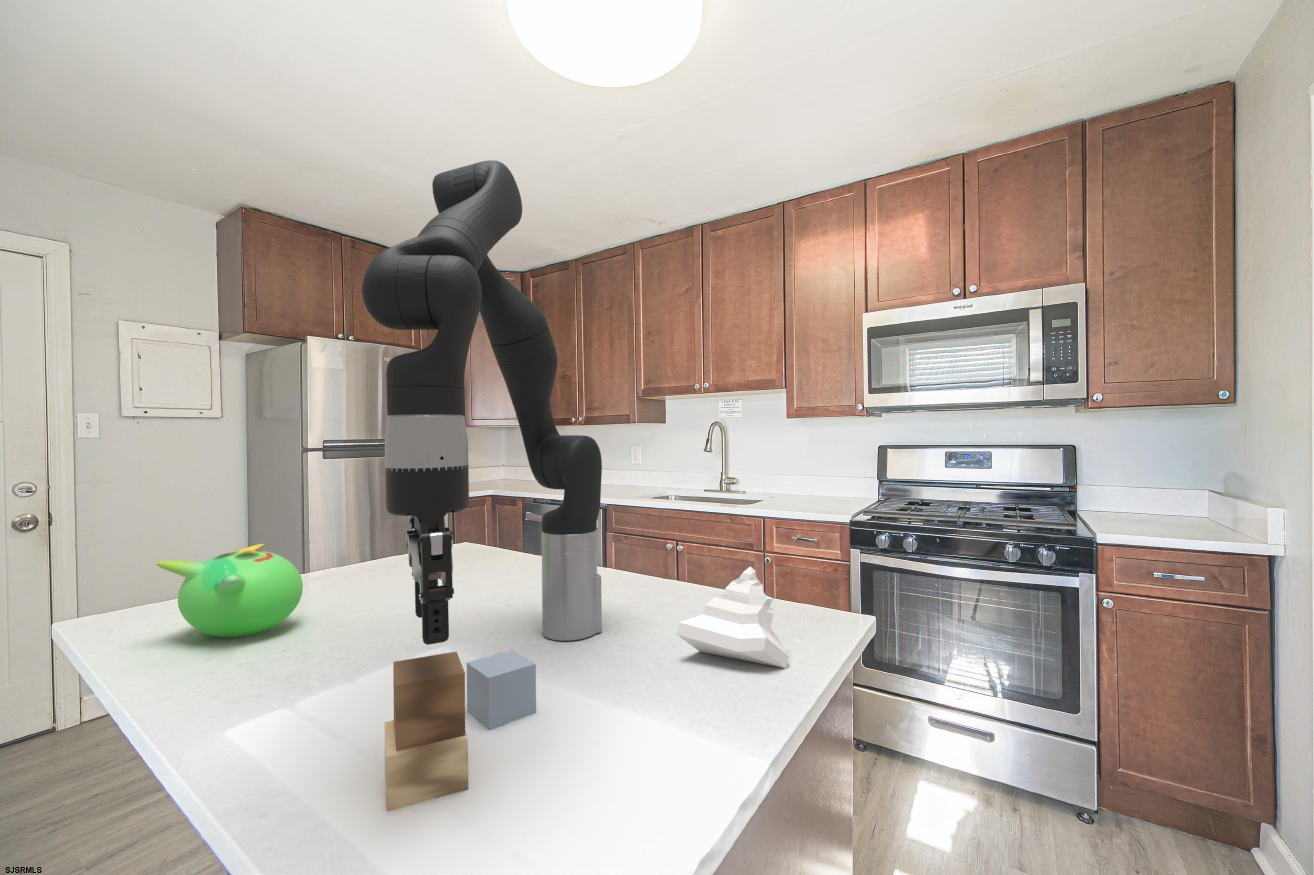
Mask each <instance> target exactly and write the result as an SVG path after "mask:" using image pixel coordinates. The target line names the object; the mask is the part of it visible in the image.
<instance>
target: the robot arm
mask: <svg viewBox="0 0 1314 875" xmlns="http://www.w3.org/2000/svg"><path fill="white" fill-rule="evenodd" d="M432 195H433V199H434V203H435V207H436V210H437V212H438V214H437V215H435V216H434V217H433V218H431V220H429V222H427V224H426V225H424V227H423V228H422V229H421V231H420V232H419V233H418V235H417V236H416V237H413V238H409V239H406V240H404V241H402V242H400V243H398V244H395V245H393V246H391V247H389V248H387V249H385V250H383V251H381V252H380V253H379V254H377V255H376V256H375V257H374V258H373V259H372V260H371V262H370V263H369V265H368V266H367V268H366V270H365V272H364V275H363V278H362V282H361V293H362V294H361V295H362V300H363V304H364V306H365V308H366V311H367V312H368V313H369V315H370V316H371V317H372V319H374V321H376V322H377V323H378V324H380V325H382V326H383V327H385V328H388V329H391V330H397V331H398V330H399V331H436V330H437V333H436V335H435V336H434V338H433V340H432V341H431V343H430V344H429V345H428V346H426V347H424V348H422V349H420V350H419V349H418V350H416V351H415V350H414V351H410V352H407V353H401V354H399V355H396V356H394V357H392V358H390V359H389V361H388V363H387V366H386V373H385V376H386V377H385V379H386V380H385V381H386V383H385V384H386V386H385V387H386V416H387V417H386V427H385V428H386V429H385V434H384V436H385V437H384V463H385V464H384V470H385V471H384V473H385V475H384V476H385V508H386V511H387V513H389V514H391V515H393V516H394V515H395V516H402V517H403V516H404V517H405V516H406V517H409V516H410V518H409V524H410V529H408V530H406V531H405V532H406V534H405V535H406V536H405V537H406V538H405V539H406V548H407V549H408V550H407V552H408V555H407V556H408V565H409V567H410V568H411V570H412V571H411V577H412V578H413V581H414V608H415V610H414V612H415V616H416V617H417V618H420V619H421V629H422V630H421V632H422V634H421V636H422V641H423V644H424V645H436V644H441V643H445V642H447V641H448V640H449V638H450V624H449V623H450V620H449V615H450V614H449V601H450V600H451V599H453V597H454V594H455V587H453V572H454V561H453V560H454V559H453V551H452V549H453V544H454V535H453V530H450V526H446V521H445V516H446V515H447V514H449V513H457V512H458V513H459V512H461V511H464V510H466V509H467V508H468V507H469V505H470V485H469V484H470V483H469V482H470V481H469V480H470V478H469V475H470V474H469V442H468V441H469V439H468V438H469V437H468V432H467V426H466V425H467V424H466V418H465V417H466V416H465V414H466V412H465V409H466V407H465V402H466V401H465V373H466V367H467V366H466V365H467V360H468V354H469V349H470V345H471V341H472V338H473V334H474V332H475V327H476V324H477V320H478V316H479V314H480V317H481V319H482V322H483V325H484V328H485V331H486V334H487V336H488V341H489V343H490V346H491V349H492V352H493V354H494V357H495V360H496V363H497V366H498V368H499V369H500V372H501V375H502V377H503V380H504V383H505V385H506V386H505V387H506V388H507V391H508V394H509V397H510V400H511V404H512V406H513V409H514V412H515V415H516V419H517V422H518V425H519V429H520V433H521V436H522V440H523V442H522V443H523V446H524V449H525V454H526V458H527V461H528V466H529V468H530V470H531V472H532V475H533V477H534V479H535V480H536V481H537V483H538V484H539V485H540V486H541V487H543V488H547V489H551V490H560V491H561V490H563V500H562V503H561V504H560V505H559V506H558V507H557V508H555V509H551V510H549V511H546V512H545V513H544V514H543V515H542V516H541V517H542V518H541V601H542V602H541V603H542V604H541V605H542V606H541V608H542V609H541V610H542V611H541V624H542V630H541V631H542V635H543V636H544V637H545V638H547V639H548V640H549V639H550V640H554V641H561V642H562V641H565V642H566V641H579V640H582V639H588V638H589V637H591V636H594V635H596V634H599V633H602V629H603V628H602V625H603V624H602V622H603V621H602V618H603V617H602V616H603V615H602V605H603V604H602V576H601V575H600V574H599V573H598V547H597V546H598V538H597V537H598V534H597V533H598V525H597V524H598V518H599V515H600V510H601V496H602V493H601V492H602V475H603V473H602V472H603V462H602V455H601V454H602V453H601V450H600V446H599V445H598V443H597V441H596V440H595V439H594V438H593V437H592V436H588V435H583V434H582V435H578V434H575V435H573V434H570V435H567V434H565V435H564V434H562V435H561V434H560V433H559V431H558V428H557V426H556V424H555V421H554V420H555V419H554V416H553V413H552V406H551V398H552V393H553V389H554V386H555V381H556V377H557V370H558V362H559V361H558V354H557V349H556V345H555V342H554V339H553V336H552V332H551V329H550V326H549V324H548V321H547V318H546V316H545V314H544V313H543V312H542V311H541V309H540V308H539V307H538V306H537V305H536V304H535V303H534V302H533V301H532V300H531V299H530V298H529V297H528V296H527V295H525V294H524V293H523V292H521V291H520V290H519V289H518V288H517V287H516V286H514V285H513V284H512V283H511V282H510V281H509V280H508V278H506V277H505V276H504V275H503V274H502V273H501V272H500V271H499V270H498V269H497V268H496V266H495V265H494V263H493V261H491V259H490V257H489V255H488V254H489V252H490V251H491V250H492V249H493V248H494V247H495V246H496V244H497V243H498V242H499V241H500V240H501V239H502V238H503V237H505V236H506V235H507V234H508V233H509V232H510V231H511V230H512V229H514V228H515V227H517V225H519V224H520V222H521V219H522V216H523V201H522V197H521V193H520V189H519V187H518V184H517V181H516V180H515V177H514V175H513V173H512V172H511V170H510V169H509V168H508V166H507V165H506V164H504V163H503V162H502V161H498V160H493V159H492V160H483V161H479V162H475V163H472V164H468V165H464V166H461V167H460V166H459V167H457V168H453V169H450V170H446V171H442V172H439V173H437V174H436V175H435V176H434V177H433V180H432ZM439 580H440V581H442V585H439Z"/></svg>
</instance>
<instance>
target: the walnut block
mask: <svg viewBox="0 0 1314 875" xmlns="http://www.w3.org/2000/svg"><path fill="white" fill-rule="evenodd" d="M392 669H393V670H392V671H393V684H392V685H393V720H394V731H395V744H396V751H400V750H404V749H409V748H413V747H417V746H422V745H426V744H430V743H435V742H439V741H443V740H448V739H452V738H456V737H461V736H465V731H466V672H465V670H464V666H463V664H462V662H461V660H460V657H459V654H458V652H457V651H450V652H445V653H439V654H433V655H426V656H420V657H415V658H409V659H403V660H397V661H396V660H395V661H393V667H392Z"/></svg>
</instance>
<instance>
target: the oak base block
mask: <svg viewBox="0 0 1314 875" xmlns="http://www.w3.org/2000/svg"><path fill="white" fill-rule="evenodd" d="M467 734H468V733H467V732H466V730H465V736H461V737H456V738H452V739H448V740H443V741H439V742H435V743H430V744H426V745H422V746H417V747H413V748H409V749H404V750H400V751H396V744H395V731H394V719H393V720H389V721H384V781H385V782H384V783H385V788H386V790H385V811H386V812H389V811H393V810H396V809H401V808H404V807H407V806H411V805H415V804H420V803H422V802H423V803H424V802H426V801H425V800H427V801H429V800H428V799H430V800H433V799H432V798H434V799H437V798H441V796H442V797H444V796H448V795H452V794H455V793H460V792H463V791H467V790H469V736H468V735H467Z"/></svg>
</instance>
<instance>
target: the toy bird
mask: <svg viewBox="0 0 1314 875" xmlns="http://www.w3.org/2000/svg"><path fill="white" fill-rule="evenodd" d="M264 545H265V543H258V544H254V545H251V546H248V547H245V548H242V549H239V550H236V551H233V552H227V553H222V554H220V555H218V556H215V557H213V558H210V559H207V560H206V561H204V562H202V561H187V560H159V561H157V562H156V566H157V567H159V568H160V569H163V570H165V571H168V572H171V573H173V574H176V575H178V576H181V577H184V579H183V581H182V584H181V586H180V587H179V590H178V593H177V606H178V609H179V612H180V614H181V615H182V617H183V618H184V620H185V621H186V622H187V623H188V625H190V626H191V627H192V628H194V629H196V630H198V631H199V632H202V633H204V634H206V635H211V636H215V637H221V638H235V637H236V638H237V637H246V636H250V635H255V634H258V633H262V632H264V631H266V630H269V629H272V628H273V627H275V626H277V625H279V624H280V623H282V622H283V621H284V620H286V619H287V618H288V617H290V615H291V614H292V613H293V612H294V610H295V609H296V608H297V607H298V604H299V602H300V601H301V598H302V595H303V589H304V585H303V578H302V576H301V573H300V572H299V570H298V569H297V567H296V566H295V565H294V564H293V563H292V562H291V561H289V559H286V558H285V557H283V556H281V555H279V554H276V553H272V552H269V551H265V550H264V551H263V550H259V549H260V548H262V547H263V546H264Z"/></svg>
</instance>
